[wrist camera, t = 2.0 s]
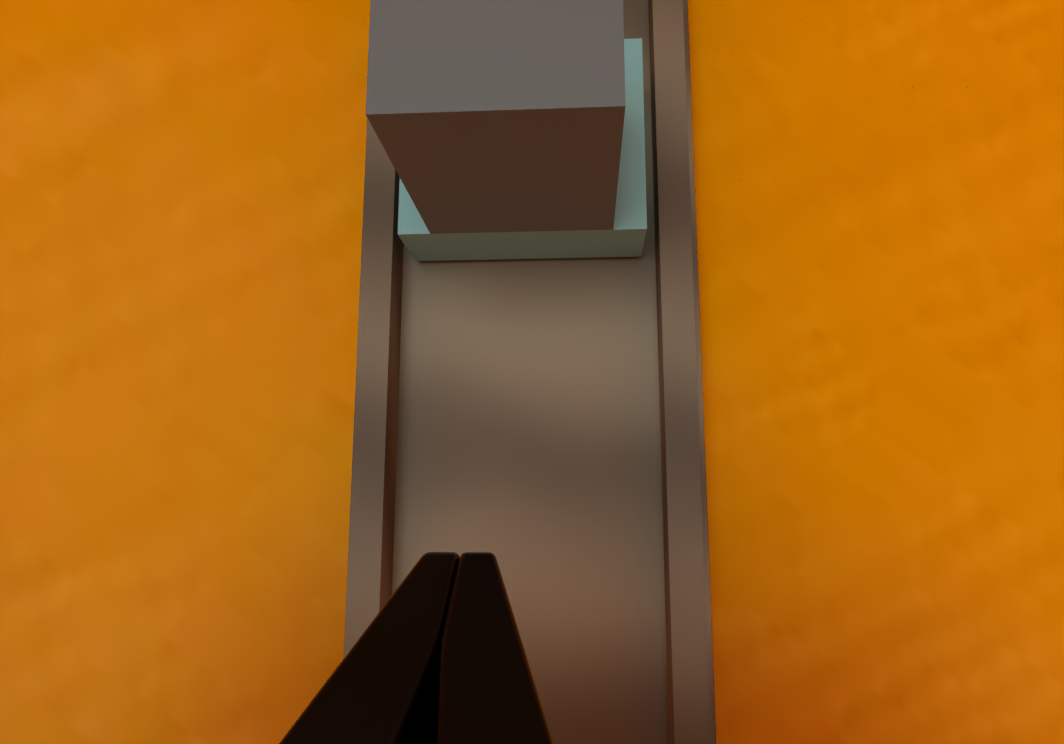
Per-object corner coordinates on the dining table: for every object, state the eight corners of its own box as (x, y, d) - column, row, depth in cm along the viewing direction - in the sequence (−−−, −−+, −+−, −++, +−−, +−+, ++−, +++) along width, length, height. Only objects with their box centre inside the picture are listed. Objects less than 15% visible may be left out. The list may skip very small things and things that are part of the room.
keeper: (641, 256, 21) (674, 104, 13) (415, 260, 21) (319, 115, 13) (637, 81, 21) (664, -155, 14) (420, 89, 22) (333, -137, 14)
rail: (706, 748, 20) (765, 855, 14) (359, 741, 21) (257, 841, 14) (674, -135, 25) (705, -363, 18) (393, -121, 25) (328, -336, 19)
